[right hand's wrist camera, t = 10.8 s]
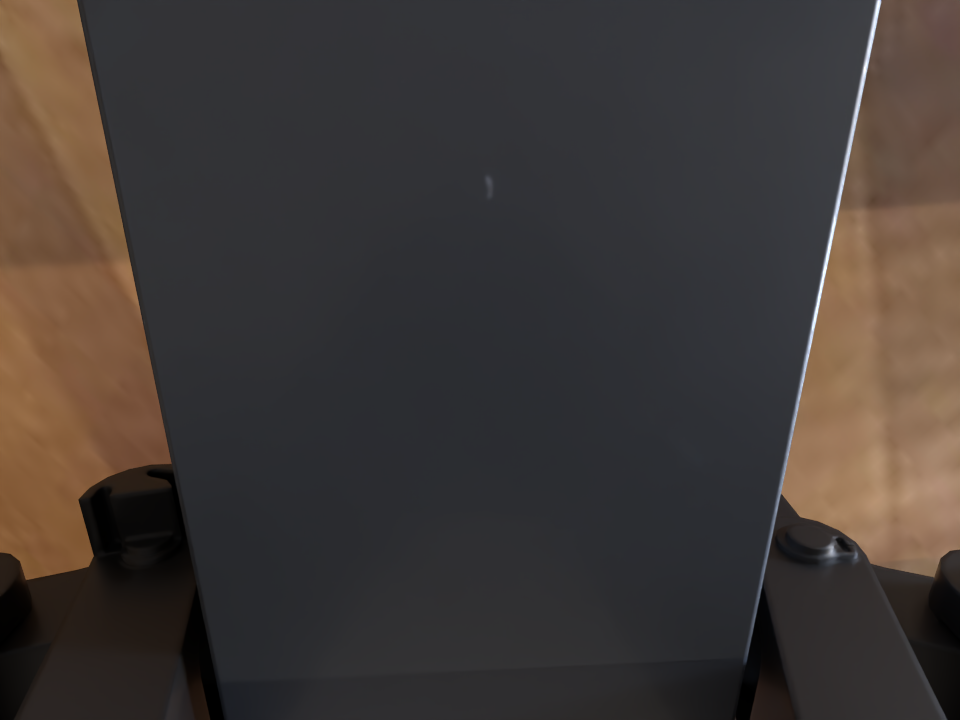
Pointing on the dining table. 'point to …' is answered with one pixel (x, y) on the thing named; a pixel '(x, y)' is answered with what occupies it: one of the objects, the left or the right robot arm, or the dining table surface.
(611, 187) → the beam
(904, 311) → the dining table surface
